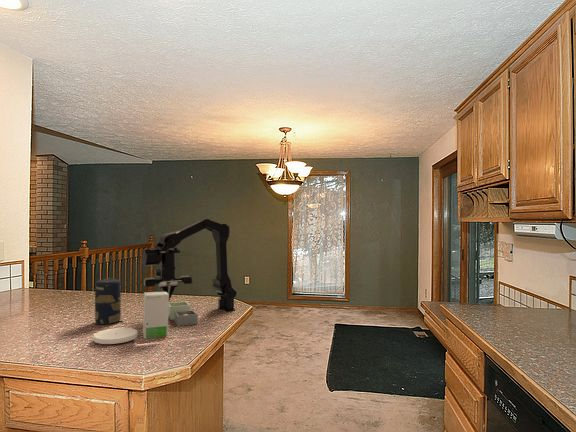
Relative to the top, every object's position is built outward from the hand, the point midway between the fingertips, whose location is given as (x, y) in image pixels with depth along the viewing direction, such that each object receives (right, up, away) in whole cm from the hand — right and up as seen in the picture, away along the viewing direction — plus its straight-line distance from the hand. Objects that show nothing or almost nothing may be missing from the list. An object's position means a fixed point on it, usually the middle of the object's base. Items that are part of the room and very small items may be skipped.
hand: (168, 301), depth 167 cm
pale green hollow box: (+4, -7, +2) cm, 9 cm away
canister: (-23, -8, -5) cm, 25 cm away
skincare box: (+3, -8, -24) cm, 25 cm away
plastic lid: (-10, -8, -28) cm, 31 cm away
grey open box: (+9, -7, -8) cm, 14 cm away
